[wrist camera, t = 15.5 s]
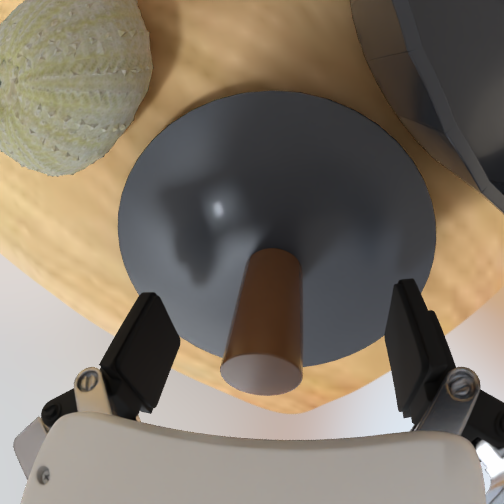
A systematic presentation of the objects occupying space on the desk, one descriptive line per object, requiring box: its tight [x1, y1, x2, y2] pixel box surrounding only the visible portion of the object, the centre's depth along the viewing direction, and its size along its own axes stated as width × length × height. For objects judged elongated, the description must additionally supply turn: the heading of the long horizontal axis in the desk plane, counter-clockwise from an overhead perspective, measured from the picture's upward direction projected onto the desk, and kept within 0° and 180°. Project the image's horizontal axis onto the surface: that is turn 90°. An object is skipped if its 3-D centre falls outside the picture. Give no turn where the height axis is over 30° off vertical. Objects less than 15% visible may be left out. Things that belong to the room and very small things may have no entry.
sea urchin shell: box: [0, 0, 153, 177], centre depth 8 cm, size 9×8×8 cm
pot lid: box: [118, 90, 436, 396], centre depth 11 cm, size 15×15×7 cm
